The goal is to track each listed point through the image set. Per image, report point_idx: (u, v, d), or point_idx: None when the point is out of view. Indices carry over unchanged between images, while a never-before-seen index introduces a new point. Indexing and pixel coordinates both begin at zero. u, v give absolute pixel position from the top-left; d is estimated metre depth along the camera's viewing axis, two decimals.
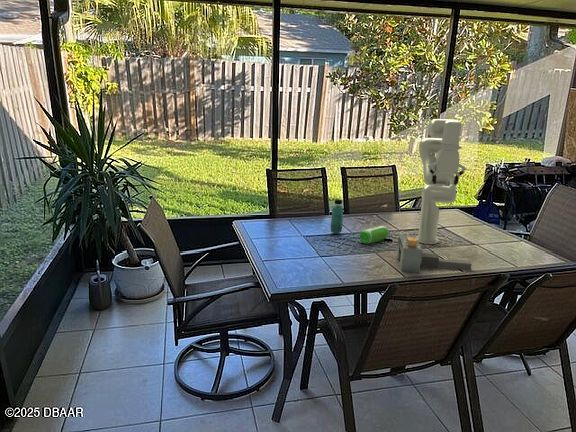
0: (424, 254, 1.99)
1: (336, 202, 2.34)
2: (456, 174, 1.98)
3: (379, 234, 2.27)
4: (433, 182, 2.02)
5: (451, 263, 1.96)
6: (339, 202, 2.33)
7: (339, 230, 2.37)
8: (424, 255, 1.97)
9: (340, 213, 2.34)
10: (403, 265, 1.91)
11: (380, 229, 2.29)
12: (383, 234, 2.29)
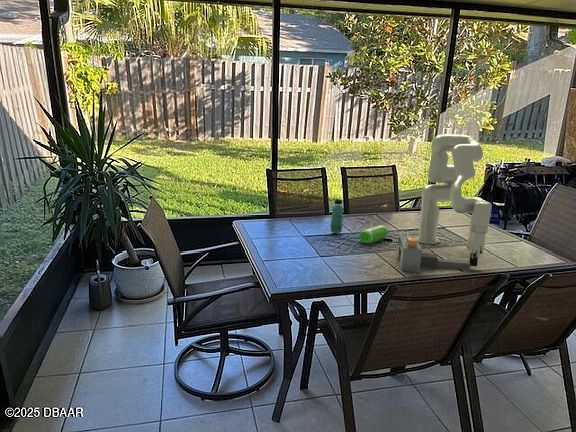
0: (423, 254, 1.99)
1: (336, 202, 2.34)
2: None
3: (379, 234, 2.28)
4: (472, 265, 1.95)
5: (450, 263, 1.96)
6: (339, 202, 2.33)
7: (339, 230, 2.37)
8: (423, 255, 1.97)
9: (340, 213, 2.34)
10: (403, 265, 1.91)
11: (379, 229, 2.30)
12: (383, 234, 2.30)
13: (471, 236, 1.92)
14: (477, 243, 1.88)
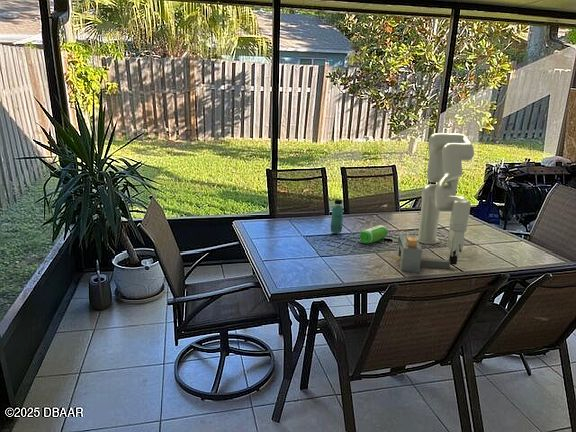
0: None
1: (336, 202, 2.34)
2: None
3: (379, 234, 2.28)
4: (452, 263, 1.97)
5: (430, 262, 1.97)
6: (339, 202, 2.33)
7: (339, 230, 2.37)
8: None
9: (340, 213, 2.34)
10: (403, 265, 1.91)
11: (379, 229, 2.30)
12: (382, 233, 2.30)
13: (450, 234, 1.93)
14: (456, 241, 1.89)
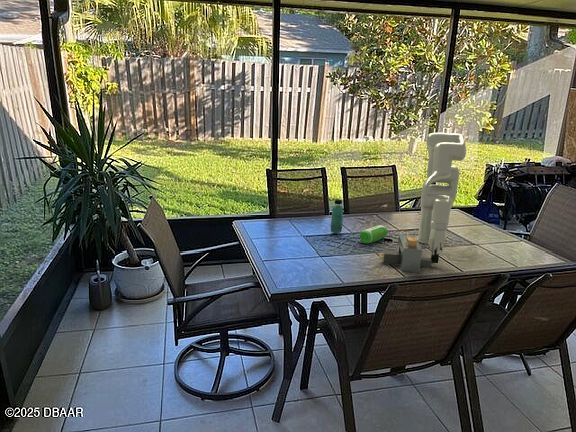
0: (385, 251, 2.01)
1: (336, 202, 2.34)
2: None
3: (379, 234, 2.28)
4: (434, 262, 1.98)
5: None
6: (339, 202, 2.33)
7: (339, 230, 2.37)
8: (385, 252, 1.99)
9: (340, 213, 2.34)
10: (403, 265, 1.91)
11: (379, 229, 2.30)
12: (382, 233, 2.30)
13: (432, 233, 1.94)
14: (437, 240, 1.90)
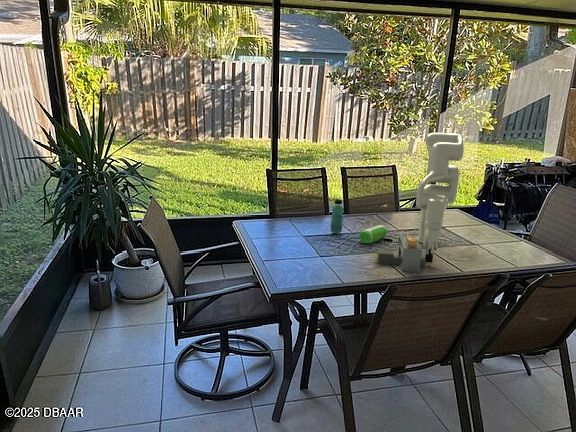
0: (380, 251, 2.01)
1: (336, 202, 2.34)
2: None
3: (379, 234, 2.28)
4: None
5: None
6: (339, 202, 2.33)
7: (339, 230, 2.37)
8: (380, 252, 2.00)
9: (340, 213, 2.34)
10: (403, 265, 1.91)
11: (379, 228, 2.30)
12: (382, 233, 2.30)
13: (426, 233, 1.95)
14: (431, 240, 1.91)
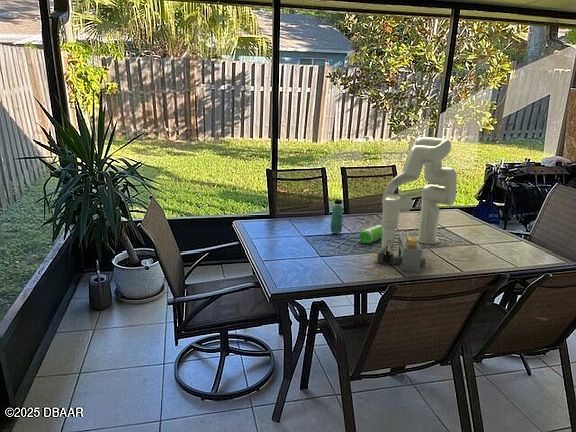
0: (380, 250, 2.01)
1: (336, 202, 2.34)
2: None
3: (379, 234, 2.29)
4: (386, 261, 1.98)
5: None
6: (339, 202, 2.33)
7: (339, 230, 2.37)
8: (379, 251, 2.00)
9: (340, 213, 2.34)
10: (403, 265, 1.91)
11: (378, 228, 2.30)
12: (381, 233, 2.31)
13: (382, 231, 1.97)
14: (386, 238, 1.93)
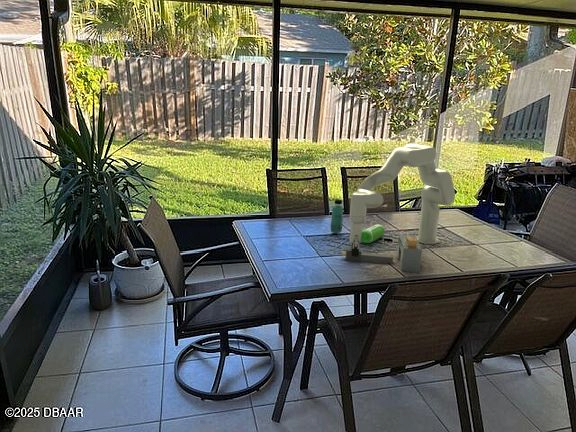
0: (348, 248, 2.03)
1: (336, 202, 2.34)
2: None
3: (378, 233, 2.29)
4: (354, 255, 1.98)
5: (373, 257, 2.00)
6: (339, 202, 2.33)
7: (339, 230, 2.37)
8: (347, 249, 2.02)
9: (340, 213, 2.34)
10: (403, 265, 1.91)
11: (378, 228, 2.31)
12: (381, 233, 2.32)
13: None
14: (354, 233, 1.95)
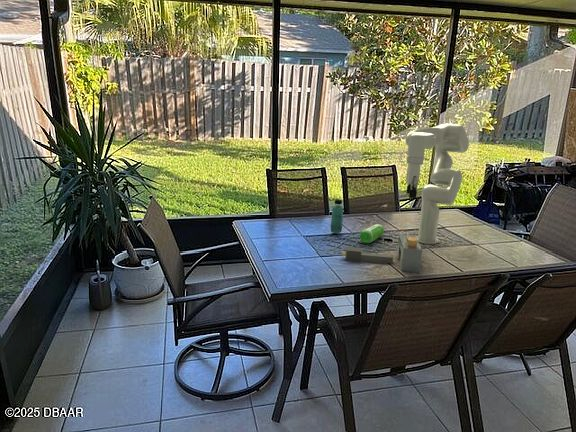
0: (348, 248, 2.03)
1: (336, 202, 2.34)
2: None
3: (378, 233, 2.29)
4: (412, 197, 1.99)
5: (373, 257, 2.00)
6: (339, 202, 2.33)
7: (339, 230, 2.37)
8: (347, 249, 2.02)
9: (340, 213, 2.34)
10: (403, 265, 1.91)
11: (377, 228, 2.31)
12: (380, 232, 2.32)
13: (408, 168, 2.00)
14: (412, 174, 1.96)
